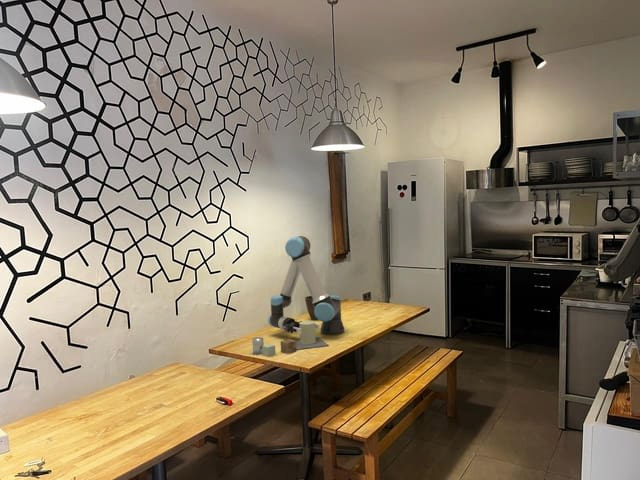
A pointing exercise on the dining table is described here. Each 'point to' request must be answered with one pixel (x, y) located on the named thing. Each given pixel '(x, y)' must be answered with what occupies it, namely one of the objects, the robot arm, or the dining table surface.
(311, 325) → the can
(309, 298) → the plant pot
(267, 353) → the sage block
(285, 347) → the walnut block
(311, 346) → the charcoal mat
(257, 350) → the grey tin
